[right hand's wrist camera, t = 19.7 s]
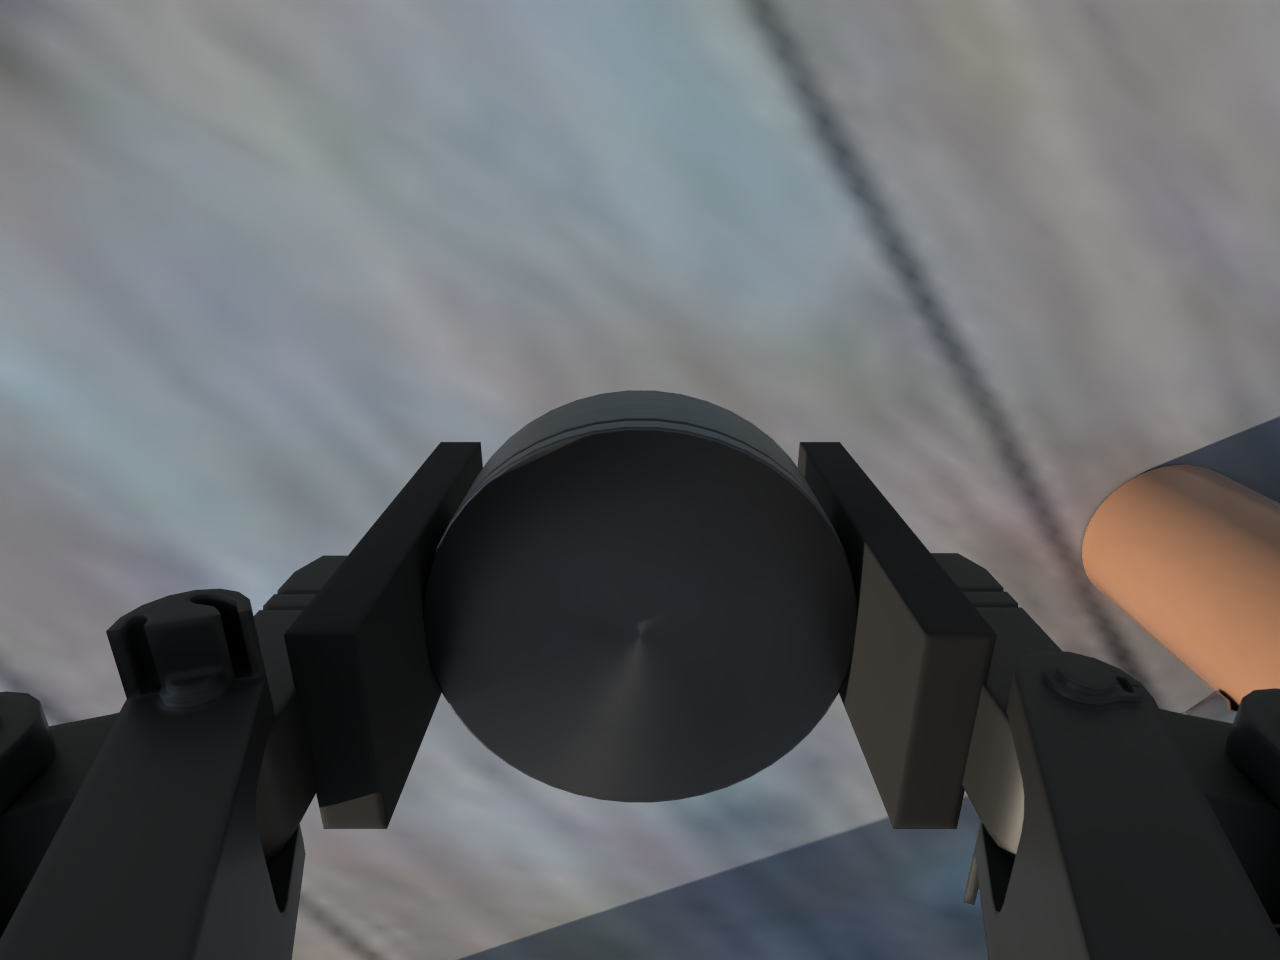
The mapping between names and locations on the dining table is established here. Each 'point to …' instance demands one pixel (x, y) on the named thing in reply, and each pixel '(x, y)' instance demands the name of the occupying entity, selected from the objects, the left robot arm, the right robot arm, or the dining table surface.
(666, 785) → the lid
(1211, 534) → the tan rounded cylinder
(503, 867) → the dining table surface
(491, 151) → the dining table surface
